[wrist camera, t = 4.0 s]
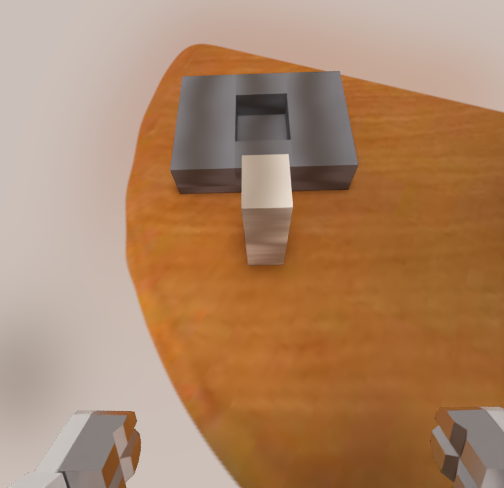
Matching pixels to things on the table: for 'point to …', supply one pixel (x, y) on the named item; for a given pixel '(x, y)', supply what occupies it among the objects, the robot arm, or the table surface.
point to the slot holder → (263, 130)
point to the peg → (266, 207)
